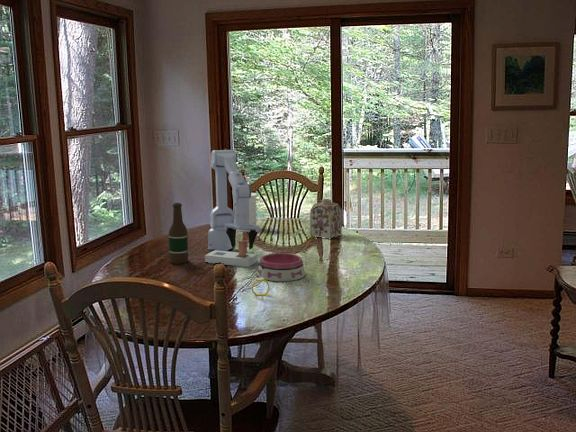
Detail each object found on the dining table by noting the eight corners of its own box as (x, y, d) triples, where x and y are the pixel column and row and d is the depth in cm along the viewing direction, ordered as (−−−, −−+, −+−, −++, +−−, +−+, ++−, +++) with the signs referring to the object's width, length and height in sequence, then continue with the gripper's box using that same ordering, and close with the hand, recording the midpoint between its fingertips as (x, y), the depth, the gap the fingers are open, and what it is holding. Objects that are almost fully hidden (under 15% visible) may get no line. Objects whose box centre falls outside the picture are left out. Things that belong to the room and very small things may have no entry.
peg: (237, 263, 240) (237, 241, 239) (240, 261, 243) (240, 240, 242) (244, 264, 240) (244, 242, 238) (247, 262, 242) (247, 240, 241)
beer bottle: (192, 260, 245) (190, 202, 241) (182, 265, 238) (181, 205, 234) (175, 258, 248) (173, 201, 243) (165, 263, 241) (163, 204, 236)
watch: (252, 297, 200) (250, 280, 199) (252, 294, 203) (250, 278, 202) (270, 295, 201) (268, 278, 200) (269, 293, 203) (268, 276, 202)
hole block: (205, 262, 242) (204, 255, 241) (215, 257, 250) (214, 250, 250) (248, 266, 236) (248, 259, 235) (257, 261, 244) (257, 254, 243)
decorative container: (257, 231, 299) (257, 196, 296) (234, 231, 299) (233, 196, 296) (258, 226, 310) (258, 192, 307) (236, 226, 311) (236, 192, 307)
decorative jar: (342, 235, 292) (342, 198, 288) (330, 239, 282) (331, 202, 279) (320, 232, 298) (321, 196, 295) (308, 236, 288) (309, 200, 285)
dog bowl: (312, 280, 219) (312, 262, 218) (263, 284, 214) (263, 266, 213) (297, 267, 237) (297, 250, 235) (251, 270, 231) (251, 253, 230)
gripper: (221, 214, 236) (221, 248, 239) (255, 217, 232) (255, 251, 234) (228, 211, 243) (229, 244, 245) (261, 214, 238) (261, 247, 241)
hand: (242, 247), depth 240 cm, fingers open, 7 cm apart
